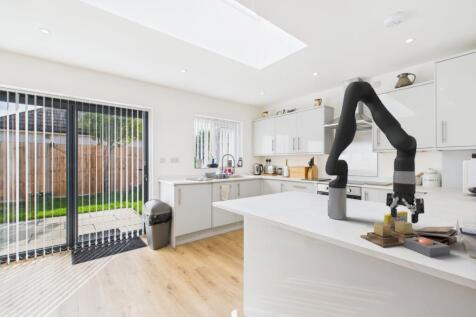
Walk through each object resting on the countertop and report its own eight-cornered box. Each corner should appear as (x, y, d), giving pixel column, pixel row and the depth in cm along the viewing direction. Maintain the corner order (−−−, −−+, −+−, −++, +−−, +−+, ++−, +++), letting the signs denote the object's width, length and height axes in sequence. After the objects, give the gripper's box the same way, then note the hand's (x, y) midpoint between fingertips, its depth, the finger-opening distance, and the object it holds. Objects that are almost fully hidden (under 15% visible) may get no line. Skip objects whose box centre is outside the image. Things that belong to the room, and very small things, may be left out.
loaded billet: (374, 237, 88) (374, 223, 88) (382, 236, 89) (381, 222, 89) (382, 241, 84) (382, 226, 84) (390, 240, 85) (390, 225, 85)
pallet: (360, 237, 91) (360, 231, 91) (401, 233, 96) (401, 227, 96) (383, 247, 80) (383, 241, 80) (428, 242, 85) (428, 236, 85)
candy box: (388, 234, 95) (388, 215, 95) (383, 232, 97) (383, 214, 97) (407, 228, 102) (407, 211, 102) (402, 227, 104) (402, 210, 104)
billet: (395, 235, 91) (395, 221, 91) (402, 234, 91) (402, 220, 91) (404, 238, 87) (404, 224, 87) (412, 237, 88) (412, 223, 88)
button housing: (403, 246, 81) (403, 238, 81) (422, 244, 83) (422, 236, 83) (429, 257, 72) (429, 248, 72) (449, 254, 74) (449, 245, 74)
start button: (415, 247, 79) (415, 238, 79) (424, 246, 80) (424, 237, 80) (427, 252, 75) (427, 242, 75) (436, 251, 76) (436, 241, 76)
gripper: (381, 180, 95) (381, 216, 95) (414, 184, 81) (414, 226, 82) (395, 179, 97) (394, 214, 97) (429, 183, 83) (429, 224, 83)
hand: (403, 220), depth 89 cm, fingers open, 8 cm apart
